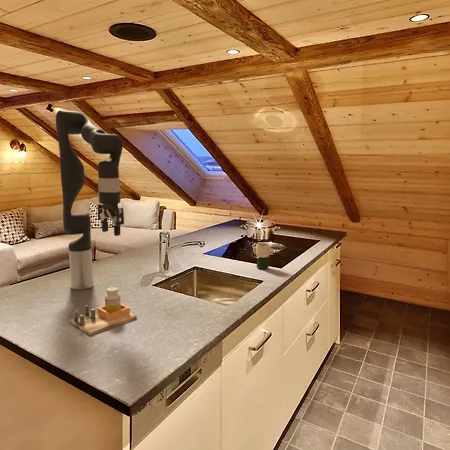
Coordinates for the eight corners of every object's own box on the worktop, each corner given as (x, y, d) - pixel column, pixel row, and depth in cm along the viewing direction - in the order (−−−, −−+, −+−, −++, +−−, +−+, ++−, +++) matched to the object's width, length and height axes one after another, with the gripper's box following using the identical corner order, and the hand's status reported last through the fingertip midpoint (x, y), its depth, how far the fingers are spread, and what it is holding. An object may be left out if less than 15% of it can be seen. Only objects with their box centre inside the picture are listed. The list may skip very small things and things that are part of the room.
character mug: (274, 267, 195) (275, 244, 193) (270, 271, 189) (270, 247, 187) (255, 265, 200) (256, 241, 198) (250, 268, 194) (251, 244, 191)
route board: (70, 322, 129) (69, 319, 128) (115, 307, 142) (115, 304, 142) (89, 335, 119) (89, 332, 119) (136, 318, 132) (136, 315, 132)
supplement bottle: (118, 317, 131) (117, 291, 129) (103, 317, 131) (102, 291, 129) (122, 311, 136) (121, 286, 134) (108, 310, 136) (107, 286, 134)
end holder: (97, 314, 133) (97, 307, 133) (117, 307, 139) (117, 301, 138) (109, 321, 128) (109, 314, 127) (129, 314, 133) (129, 307, 133)
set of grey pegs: (71, 319, 129) (70, 310, 128) (88, 314, 133) (87, 305, 132) (81, 326, 124) (80, 316, 123) (98, 320, 128) (98, 310, 127)
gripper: (90, 189, 135) (92, 231, 139) (110, 192, 126) (112, 238, 129) (108, 187, 141) (110, 229, 144) (129, 191, 131) (130, 235, 135)
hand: (111, 233), depth 137 cm, fingers open, 8 cm apart
